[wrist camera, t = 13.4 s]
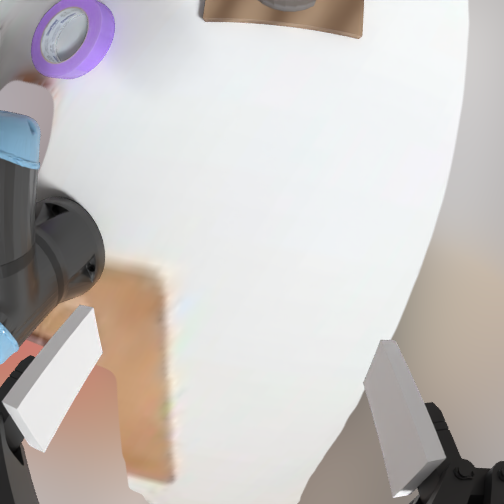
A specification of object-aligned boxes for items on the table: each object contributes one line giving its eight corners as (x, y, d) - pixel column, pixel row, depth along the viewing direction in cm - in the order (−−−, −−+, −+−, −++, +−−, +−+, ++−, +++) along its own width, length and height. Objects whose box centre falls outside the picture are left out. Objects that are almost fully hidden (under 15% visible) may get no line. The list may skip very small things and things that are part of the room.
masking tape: (54, 93, 33) (37, 93, 30) (41, 29, 29) (25, 25, 26) (123, 54, 32) (110, 48, 28) (107, -12, 28) (94, -21, 24)
